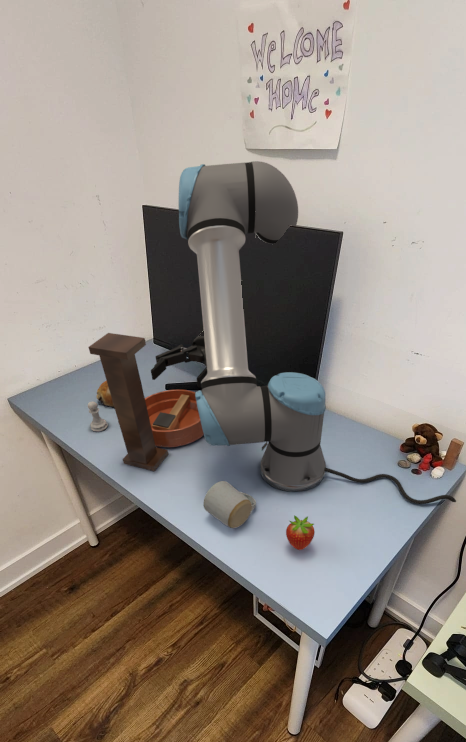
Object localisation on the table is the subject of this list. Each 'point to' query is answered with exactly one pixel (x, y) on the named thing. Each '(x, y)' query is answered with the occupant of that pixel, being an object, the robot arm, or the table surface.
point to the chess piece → (96, 418)
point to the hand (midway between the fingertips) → (175, 379)
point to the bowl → (187, 421)
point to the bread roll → (104, 395)
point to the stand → (129, 398)
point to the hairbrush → (171, 415)
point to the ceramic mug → (228, 504)
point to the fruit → (300, 533)
